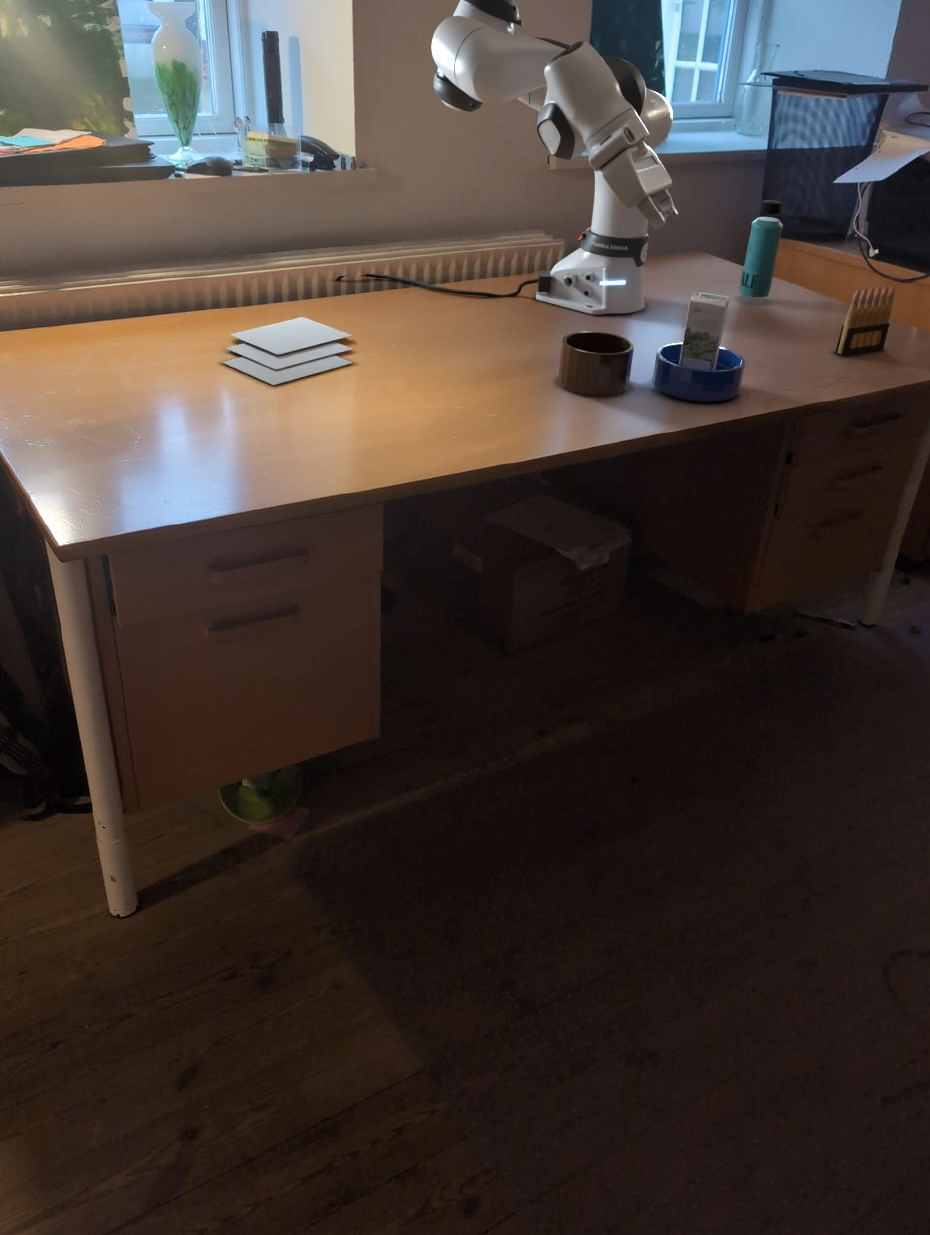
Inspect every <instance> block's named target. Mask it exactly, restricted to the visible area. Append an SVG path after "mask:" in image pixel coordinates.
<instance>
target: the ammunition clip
mask: <svg viewBox="0 0 930 1235" xmlns="http://www.w3.org/2000/svg"><path fill="white" fill-rule="evenodd" d="M895 285H896V284H892V286H890V289H889V287H888V286H889V285H885V286H884V288H883V289H881V286H880V285H879V286H878V287H877V288H876V290H875V289H874V286H872V287H871V288H870V289H869V291H868V290H867V287H864V288H863V290H862V292H861V290H860V288H857V289H856V291H855V292H854V294H853V297H852V299H851V304H850V306H849V309H848V311H847V314H846V318H845V321H844V325H841V330H840V333H839V336H838V340H837V343H836V347H835V351H834V354H836V355H839V356H841V357H846V356H847V357H848V356H852V355H853V356H855V355H859V354H867V353H874V352H880V351H881V352H882V351H883V350H884V348H885V344H886V341H887V336H888V333H889V328H890V322H889V321H890V317H891V314H892V310H893V303H894V298H895V294H896V293H895V292H896V286H895Z"/></svg>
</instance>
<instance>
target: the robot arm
mask: <svg viewBox="0 0 930 1235" xmlns="http://www.w3.org/2000/svg"><path fill="white" fill-rule="evenodd" d="M523 22H524V21H523V20H522V19H520V12H519V6H518V3H517V1H516V0H459V2H458V4H457V6H456V7H455V10H454V12H453V15H452V16H449V17H447V18H445V19H444V20H443V21H442V22H440V23H439V24H438V26H437V27H436V29H435V30H434V33H433V37H432V40H431V49H430V50H431V54H432V58H433V61H434V63H435V65H436V66H437V70H435V71H434V77H433V91H434V93H435V95H436V97H437V99H439V100H440V101H441V102H442V103H443V104H444V105H445V106H446V107H448V108H450V109H452V110H454V111H457V112H468V113H473V112H475V111H477V110H479V109H481V107H482V106H483V104H488V105H503V104H506V103H508V102H511V101H513V100H515V99H517V100H518V101H520V102H522V103H523V104H525V105H526V106H528V107H530V108H531V109H534V110H535V111H536V112H539V113H538V117H537V122H536V132H537V135H538V137H539V139H540V141H541V142H542V145H543V146H544V147H545V149H546V150H547V151H548V153H549V154H550V155H552V156H554V157H555V158H557V159H560V160H565V161H570V160H572V159H574V158H576V157H577V158H578V157H579V156H580V155H582V154H584V153H585V152H586V151H588V154H589V155H588V163H589V165H590V167H591V168H592V170H593V171H594V198H593V206H592V215H591V216H592V217H591V226H589V227H587V228H586V229H585V230H584V231H582V232H581V234H579V235H578V239H577V241H578V242H580V247H579V248H577V249H576V250H574V251H573V252H571V253H569V254H568V255H567V256H565V257H564V258H562V259H561V260H560V261H558V262H557V263H556V264H555V265H554V266H553V267H552V268H551V270H541V269H540V270H538V272H537V278H532V279H528V280H524V281H522V282H520V283H519V285H518V286H517V289H516V290H515V291H513V292H510V293H508V294H507V293H506V294H499V293H491V292H485V291H476V290H475V291H474V290H462V289H454V288H448V287H442V286H437V285H433V284H430V283H426V282H424V281H423V282H422V281H419V280H415V279H410V278H406V277H402V276H396V275H389V274H381V273H372V274H366V275H360V276H361V277H362V276H363V277H366V278H367V277H368V278H371V279H372V278H373V279H383V280H392V281H397V282H401V283H406V284H411V285H415V286H419V287H423V288H426V289H429V290H433V291H437V292H443V293H449V294H454V295H462V296H473V297H486V298H512V297H516V296H518V295H519V294H520V293H521V292H522V290H523V288H524V287H525V286H527V285H531V284H536V286H537V290H536V292H535V299H536V300H538V301H541V302H545V303H549V304H553V305H554V306H555V305H556V306H559V307H563V308H567V309H570V310H573V311H578V312H582V313H586V314H590V315H595V316H598V315H600V316H601V315H606V314H607V315H609V314H631V313H636V312H639V311H642V310H644V309H645V307H646V304H645V297H644V264H645V263H646V260H647V255H648V249H649V233H648V229H649V223H650V225H651V227H652V228H653V230H658V229H660V228H662V227H663V226H664V225H665V224H666V222H669V223H670V222H672V221H674V220H675V219H677V218H678V217H679V212H678V209H677V208H676V206H675V204H674V201H673V199H672V196H671V193H670V192H669V190H668V189H670V188H671V187H672V186H673V180H672V177H671V176H670V174H669V172H668V171H667V169H666V168H665V166H664V164H663V163H662V162H661V160H660V159H659V158H658V155H657V154H656V153H655V152H654V150H655V149H657V148H659V146H660V145H661V144H662V143H663V142H664V141H665V140H666V138H667V137H668V135H669V133H670V131H671V129H672V127H673V123H674V122H673V121H674V115H673V108H672V106H671V104H670V102H669V101H668V99H667V98H666V97H665V96H663V95H662V94H660V93H658V92H656V91H654V90H652V89H650V88H648V87H646V82H645V79H644V77H643V75H642V74H641V72H640V70H639V69H638V68H637V67H636V66H635V65H634V64H632V63H631V62H630V61H628V60H625V59H623V58H620V57H617V56H601V55H600V53H599V52H598V51H597V50H596V49H595V48H594V47H593V46H592V45H591V44H590V43H589V42H588V41H586V40H584V41H583V40H580V41H577V42H575V43H573V44H571V45H569V44H566V43H564V42H561V41H558V40H555V39H552V38H545V37H532V36H528V35H525V34H522V33H519V32H517V31H516V30H515V25H517V26H520V27H523V26H524V23H523ZM514 24H515V25H514ZM653 199H654V200H655V202H656V204H658V205H659V207H660V209H661V211H662V212H660V211H659V210H658V208H657V206H656V205H655V204H654V201H653ZM347 276H349V275H346V276H340V274H339V275H337V276H336V277H335V278H334V281H335V282H337V281H341V280H342V279H343V278H345V277H347Z"/></svg>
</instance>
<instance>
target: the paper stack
mask: <svg viewBox="0 0 930 1235" xmlns="http://www.w3.org/2000/svg"><path fill="white" fill-rule="evenodd" d="M228 335H229V336H231V337H233V338H236V339H238V340H241V341H243V342H244V343H240V344H236V345H232V346H227V347H225V350H229V351H231V352H233V353H236V354H237V355H241V356H239V357H236V358H232V359H229V360H224V361H221V363H222V364H224V365H227V366H228V367H230V368H234V369H235V370H238V371H240V372H242V373H245V374H247V375H249V376H251V377H254V378H256V379H258V380H261V381H263V382H265V383H268V384H270V385H272V386H276V385H279V384H283V383H287V382H291V381H293V380H297V379H301V378H304V377H308V376H311V375H315V374H319V373H322V372H326V371H329V370H332V369H336V368H340V367H343V366H346V365H347V366H348V365H351V364H353V362H352V361H349V360H347V359H345V358H343V357H340V356H337V355H336V354H339V353H343V352H347V351H350V350H353V348H352V347H349V346H346V345H344V344H341V343H339V342H336V341H337V340H341V339H345V338H348V337H352V336H353V334H350V333H347V332H345V331H342V330H339V329H336V328H334V327H331V326H329V325H326V324H323V323H320V322H317V321H315V320H313V319H309V318H306V317H305V316H301V317H297V318H292V319H288V320H283V321H279V322H276V323H271V324H268V325H262V326H257V327H253V328H250V329H246V330H241V331H237V332H233V333H228Z"/></svg>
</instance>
